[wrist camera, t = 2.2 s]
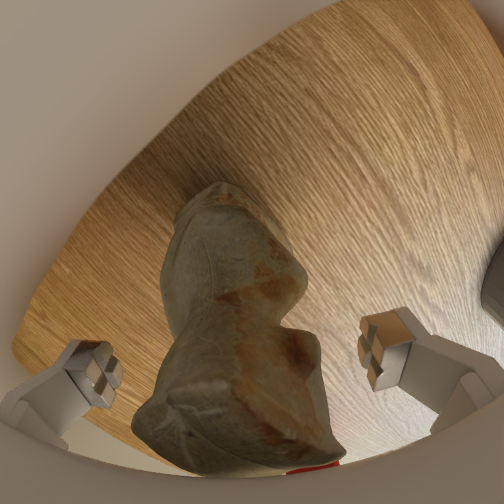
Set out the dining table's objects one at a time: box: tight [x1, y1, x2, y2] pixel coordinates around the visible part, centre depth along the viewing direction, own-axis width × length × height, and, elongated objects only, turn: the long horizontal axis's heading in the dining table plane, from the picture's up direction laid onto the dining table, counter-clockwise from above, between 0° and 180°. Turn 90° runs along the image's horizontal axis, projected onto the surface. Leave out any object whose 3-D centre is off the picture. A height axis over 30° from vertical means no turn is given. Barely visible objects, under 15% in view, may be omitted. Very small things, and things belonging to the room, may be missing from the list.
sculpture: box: [131, 181, 346, 478], centre depth 11 cm, size 6×7×15 cm
